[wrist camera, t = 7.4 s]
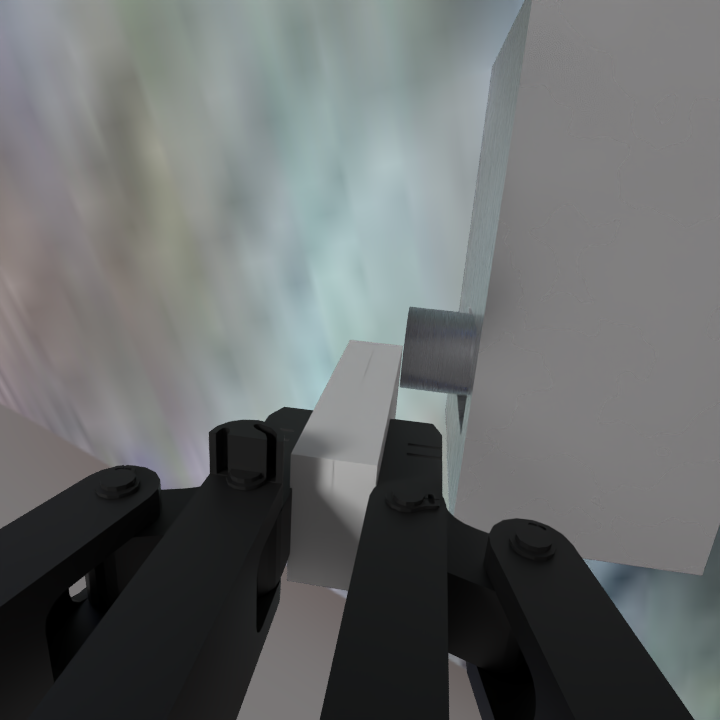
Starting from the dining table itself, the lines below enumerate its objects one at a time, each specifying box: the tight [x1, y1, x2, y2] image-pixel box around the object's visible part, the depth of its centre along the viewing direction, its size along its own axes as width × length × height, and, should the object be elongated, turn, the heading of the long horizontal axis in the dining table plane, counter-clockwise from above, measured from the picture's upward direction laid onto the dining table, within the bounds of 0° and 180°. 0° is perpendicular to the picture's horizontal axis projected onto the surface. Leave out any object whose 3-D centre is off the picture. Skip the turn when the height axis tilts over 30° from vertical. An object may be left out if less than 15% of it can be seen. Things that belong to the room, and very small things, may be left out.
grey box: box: [445, 0, 720, 576], centre depth 20 cm, size 8×16×11 cm, turn 176°
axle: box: [400, 307, 477, 396], centre depth 19 cm, size 16×3×3 cm, turn 85°
